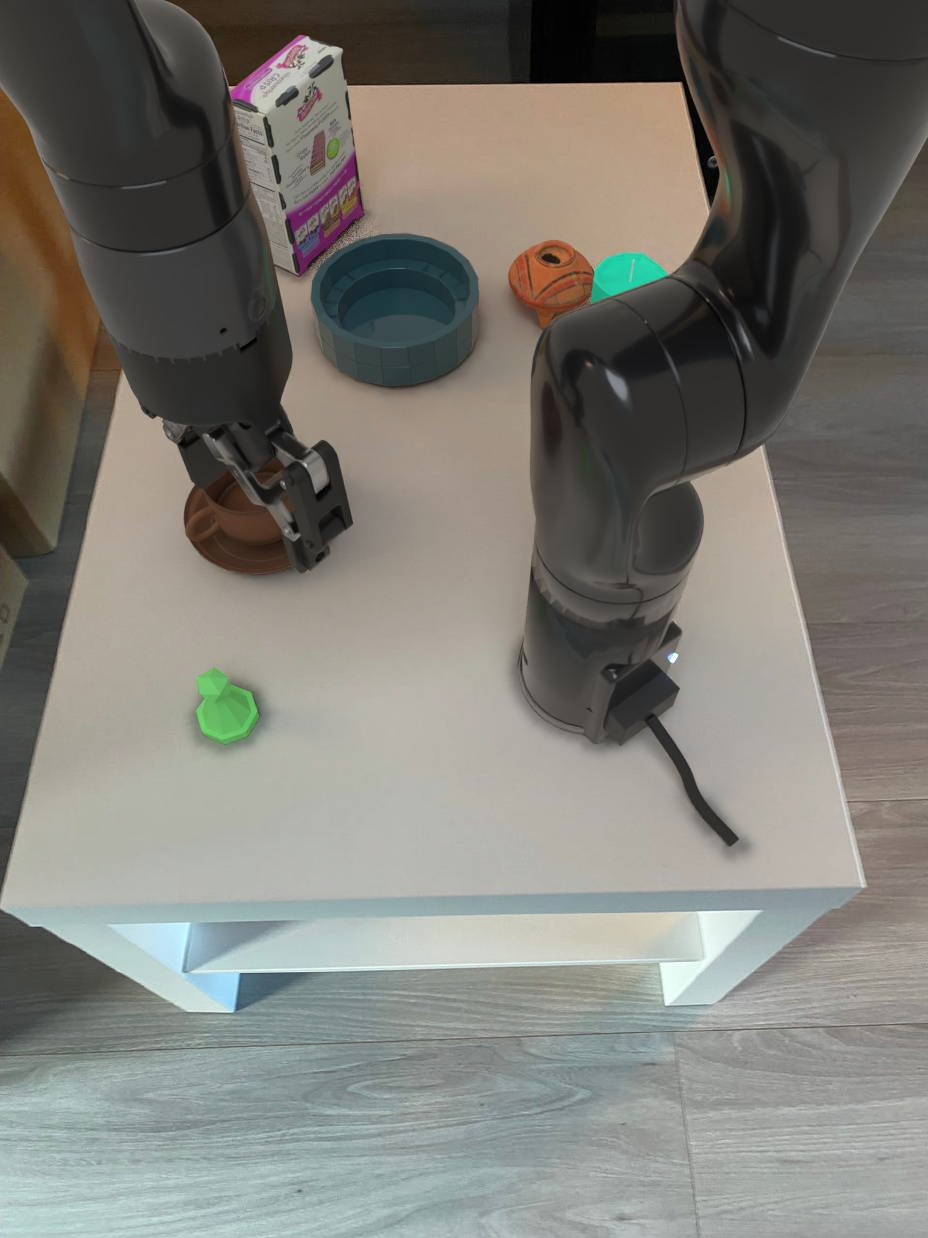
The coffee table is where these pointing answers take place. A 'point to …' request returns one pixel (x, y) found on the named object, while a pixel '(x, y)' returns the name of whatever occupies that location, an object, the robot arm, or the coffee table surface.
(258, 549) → the cup and saucer
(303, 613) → the coffee table surface
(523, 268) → the pot
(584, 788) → the coffee table surface
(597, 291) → the candle
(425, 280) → the bowl
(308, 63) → the candy bar box
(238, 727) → the game piece
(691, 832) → the coffee table surface
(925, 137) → the robot arm
